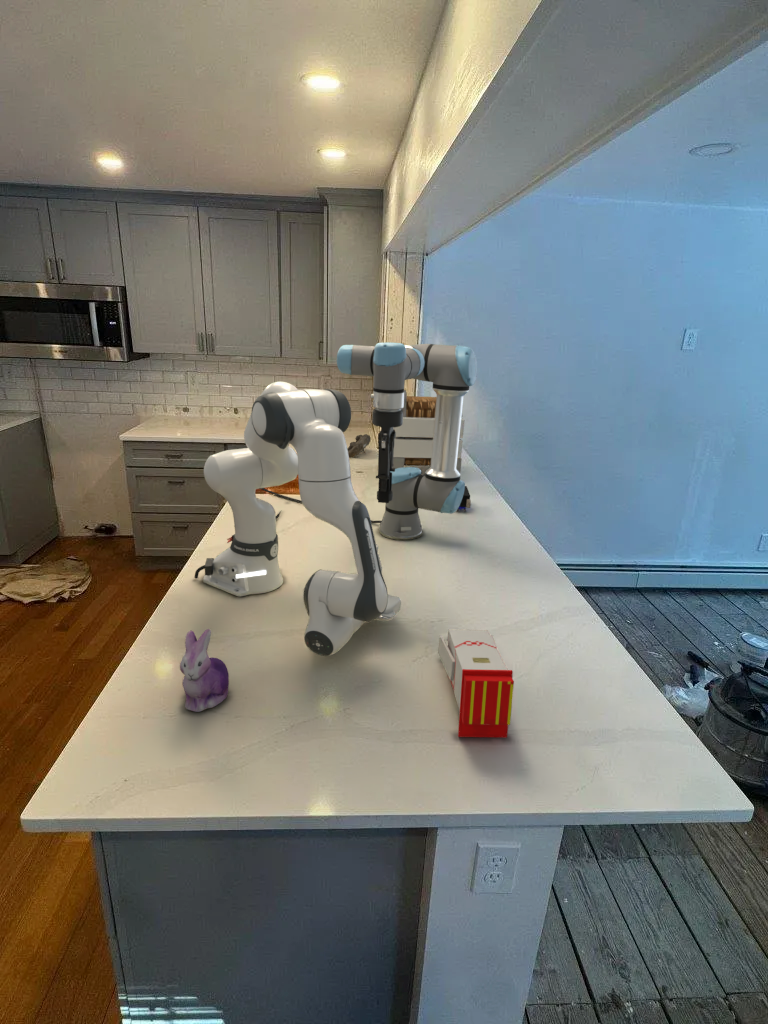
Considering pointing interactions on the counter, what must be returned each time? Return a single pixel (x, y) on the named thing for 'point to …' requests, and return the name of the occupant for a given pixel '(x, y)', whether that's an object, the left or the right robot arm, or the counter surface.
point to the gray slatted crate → (418, 433)
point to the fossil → (358, 445)
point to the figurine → (202, 674)
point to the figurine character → (465, 500)
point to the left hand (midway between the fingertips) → (371, 587)
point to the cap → (389, 495)
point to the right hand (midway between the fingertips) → (384, 498)
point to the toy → (478, 682)
